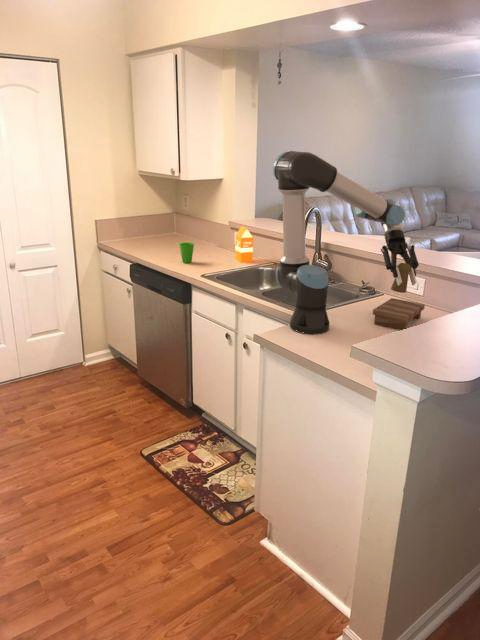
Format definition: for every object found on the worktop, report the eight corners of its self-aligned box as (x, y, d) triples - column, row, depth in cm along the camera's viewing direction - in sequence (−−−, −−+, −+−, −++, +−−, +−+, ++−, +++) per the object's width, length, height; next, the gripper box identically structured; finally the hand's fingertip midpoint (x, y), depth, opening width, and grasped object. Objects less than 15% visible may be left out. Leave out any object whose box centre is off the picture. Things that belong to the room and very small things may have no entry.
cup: (192, 264, 295) (192, 245, 292) (177, 263, 297) (176, 244, 293) (196, 261, 304) (196, 242, 300) (181, 260, 305) (181, 242, 302)
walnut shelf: (406, 331, 197) (408, 316, 195) (371, 323, 204) (373, 309, 202) (422, 318, 212) (424, 304, 210) (390, 311, 220) (391, 298, 218)
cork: (403, 289, 207) (410, 262, 203) (408, 293, 201) (415, 266, 198) (388, 287, 207) (395, 260, 203) (393, 291, 201) (400, 264, 197)
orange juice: (246, 258, 312) (247, 225, 306) (252, 261, 305) (253, 227, 298) (235, 259, 310) (235, 226, 303) (240, 262, 302) (241, 228, 295)
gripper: (411, 238, 214) (425, 287, 204) (369, 239, 211) (381, 289, 201) (418, 228, 207) (433, 278, 197) (375, 229, 204) (388, 279, 194)
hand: (407, 283), depth 199 cm, fingers closed on cork, 5 cm apart
